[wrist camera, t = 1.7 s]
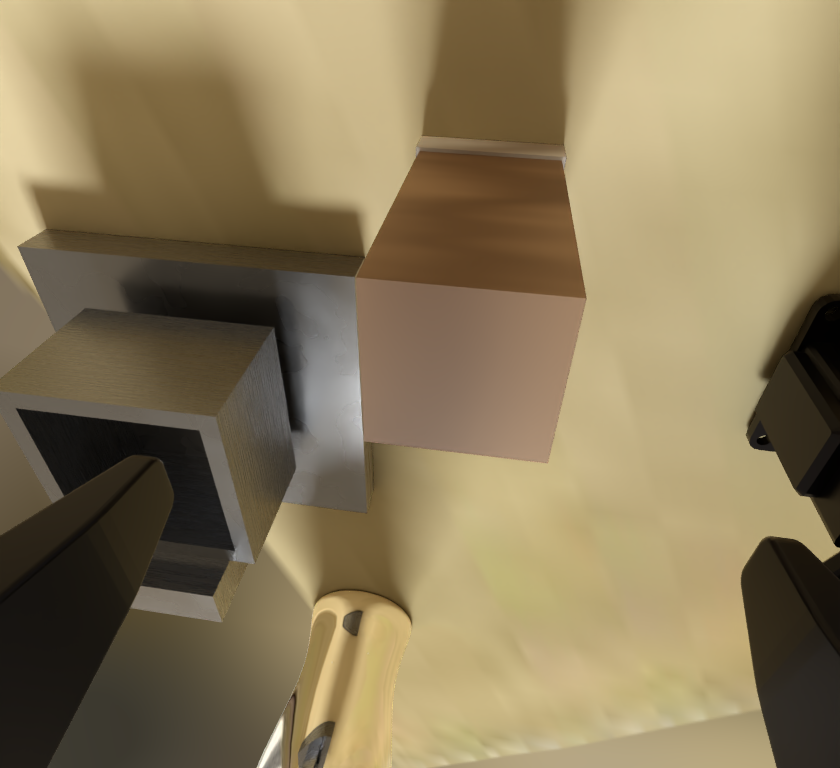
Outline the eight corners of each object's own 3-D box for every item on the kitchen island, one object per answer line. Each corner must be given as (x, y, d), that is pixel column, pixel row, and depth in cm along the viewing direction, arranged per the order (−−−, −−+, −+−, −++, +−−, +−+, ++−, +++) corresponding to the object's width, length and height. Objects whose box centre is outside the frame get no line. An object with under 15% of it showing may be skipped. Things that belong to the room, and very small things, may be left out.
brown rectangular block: (564, 145, 17) (593, 293, 9) (541, 274, 19) (551, 467, 12) (421, 135, 17) (349, 271, 10) (418, 264, 20) (359, 444, 12)
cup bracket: (364, 257, 20) (283, 417, 13) (373, 488, 27) (324, 665, 20) (45, 229, 21) (-178, 363, 14) (138, 458, 28) (20, 616, 22)
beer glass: (434, 645, 35) (390, 992, 24) (335, 648, 38) (250, 968, 26) (395, 580, 32) (319, 955, 20) (288, 588, 34) (163, 931, 22)
